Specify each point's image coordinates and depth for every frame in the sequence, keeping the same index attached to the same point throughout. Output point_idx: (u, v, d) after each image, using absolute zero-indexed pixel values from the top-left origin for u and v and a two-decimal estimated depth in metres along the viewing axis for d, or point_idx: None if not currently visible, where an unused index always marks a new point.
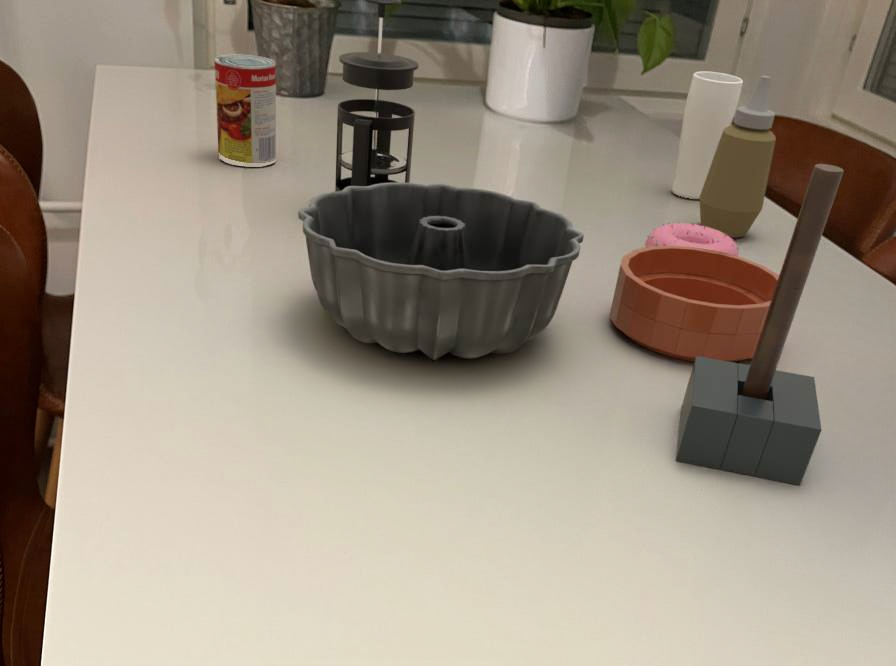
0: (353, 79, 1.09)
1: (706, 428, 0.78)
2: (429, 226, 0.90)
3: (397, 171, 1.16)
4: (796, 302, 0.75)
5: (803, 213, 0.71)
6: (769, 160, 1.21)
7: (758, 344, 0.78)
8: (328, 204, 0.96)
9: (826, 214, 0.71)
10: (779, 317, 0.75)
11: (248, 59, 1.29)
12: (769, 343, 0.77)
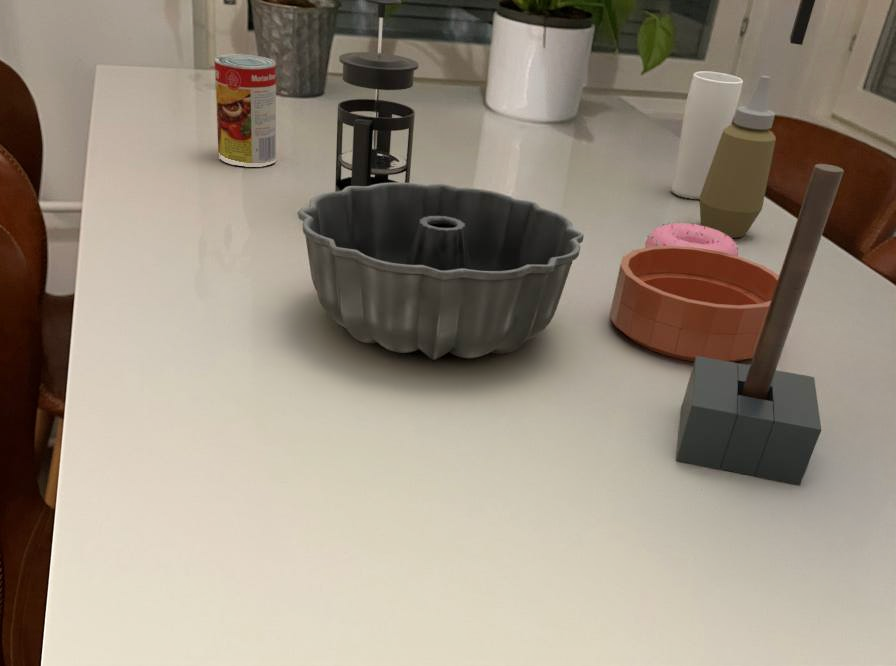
0: (353, 79, 1.09)
1: (706, 428, 0.78)
2: (429, 226, 0.90)
3: (397, 171, 1.16)
4: (796, 302, 0.75)
5: (803, 213, 0.71)
6: (769, 160, 1.21)
7: (758, 344, 0.78)
8: (328, 204, 0.96)
9: (826, 214, 0.71)
10: (779, 317, 0.75)
11: (248, 59, 1.29)
12: (769, 343, 0.77)
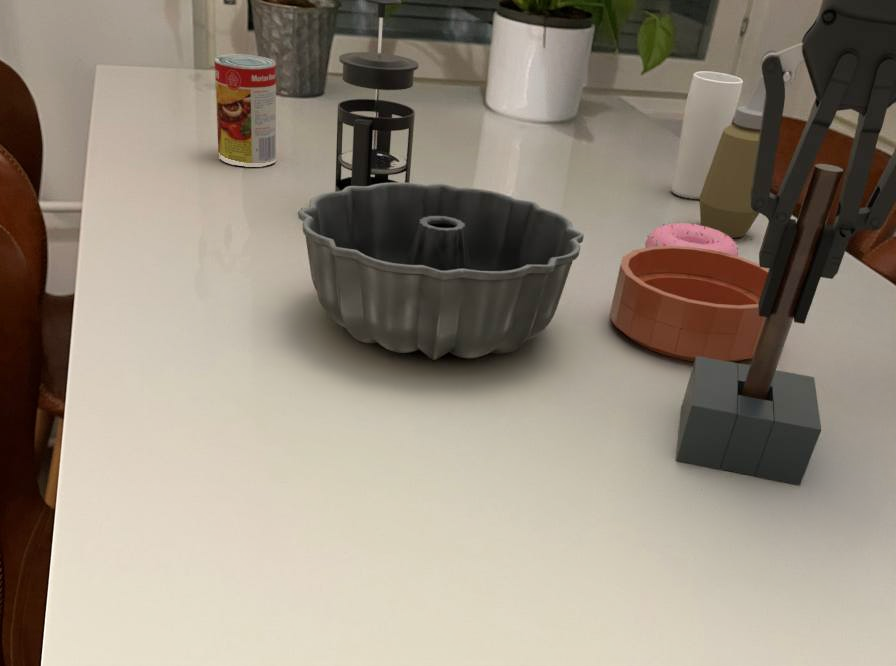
0: (353, 79, 1.09)
1: (706, 428, 0.78)
2: (429, 226, 0.90)
3: (397, 171, 1.16)
4: (796, 302, 0.75)
5: (803, 213, 0.71)
6: None
7: (758, 344, 0.78)
8: (328, 204, 0.96)
9: (826, 214, 0.71)
10: (779, 317, 0.75)
11: (248, 59, 1.29)
12: (769, 343, 0.77)
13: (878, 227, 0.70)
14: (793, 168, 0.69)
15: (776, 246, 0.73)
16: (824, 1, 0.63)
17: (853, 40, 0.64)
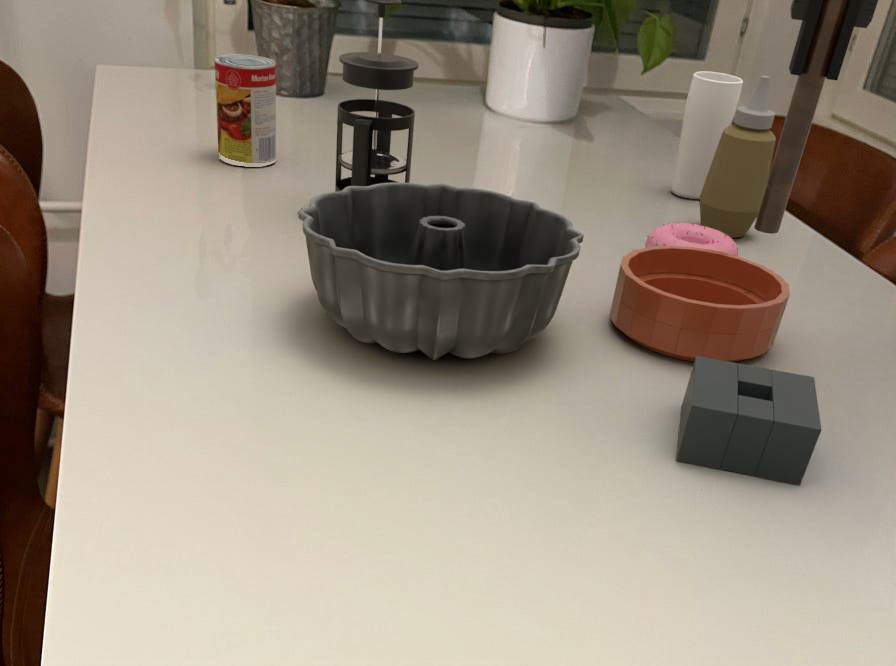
0: (353, 79, 1.09)
1: (706, 428, 0.78)
2: (429, 226, 0.90)
3: (397, 171, 1.16)
4: (829, 58, 0.73)
5: None
6: (769, 160, 1.21)
7: (789, 110, 0.76)
8: (328, 204, 0.96)
9: None
10: (811, 75, 0.74)
11: (248, 59, 1.29)
12: (801, 107, 0.75)
13: None
14: None
15: None
16: None
17: None
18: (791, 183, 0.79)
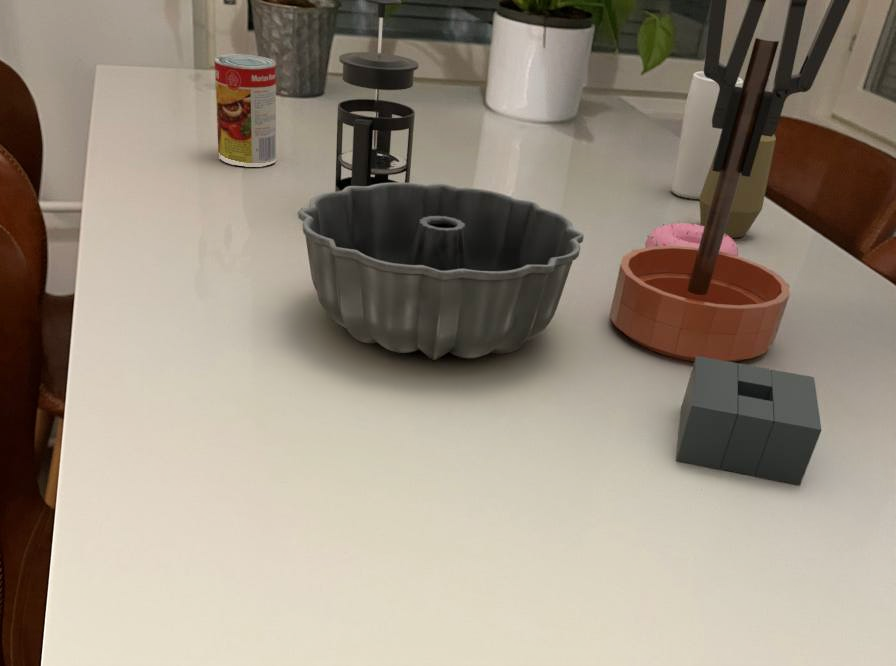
0: (353, 79, 1.09)
1: (706, 428, 0.78)
2: (429, 226, 0.90)
3: (397, 171, 1.16)
4: (743, 158, 0.90)
5: (747, 79, 0.86)
6: (769, 160, 1.21)
7: (713, 198, 0.93)
8: (328, 204, 0.96)
9: (765, 79, 0.86)
10: (729, 171, 0.91)
11: (248, 59, 1.29)
12: (721, 195, 0.92)
13: (807, 89, 0.85)
14: (737, 38, 0.84)
15: (725, 108, 0.88)
16: None
17: None
18: (716, 255, 0.96)
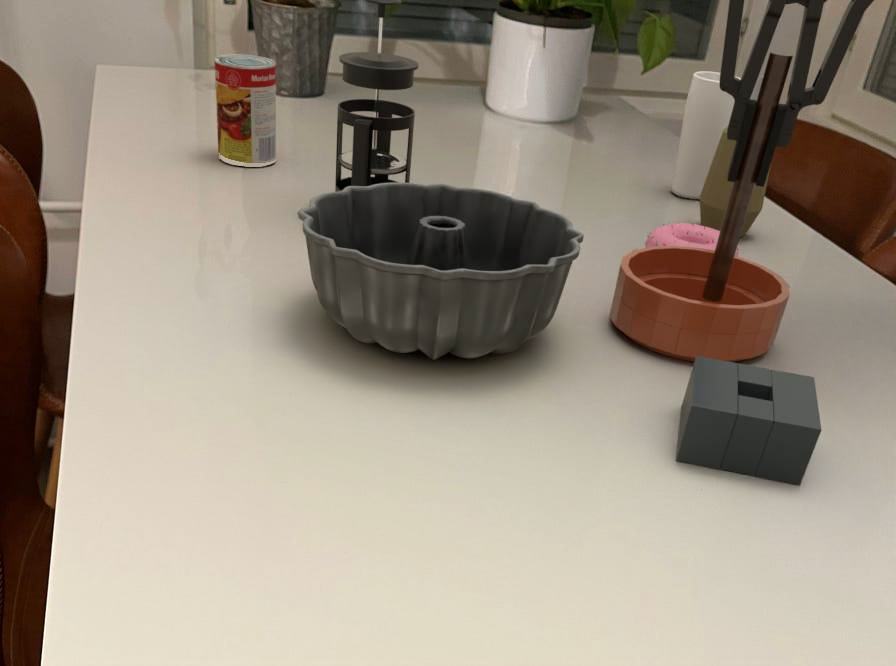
0: (353, 79, 1.09)
1: (706, 428, 0.78)
2: (429, 226, 0.90)
3: (397, 171, 1.16)
4: (757, 169, 0.92)
5: (761, 92, 0.89)
6: None
7: (727, 207, 0.95)
8: (328, 204, 0.96)
9: (779, 92, 0.88)
10: (743, 182, 0.93)
11: (248, 59, 1.29)
12: (736, 205, 0.94)
13: (820, 101, 0.87)
14: (752, 53, 0.87)
15: (740, 121, 0.90)
16: None
17: None
18: (730, 263, 0.98)
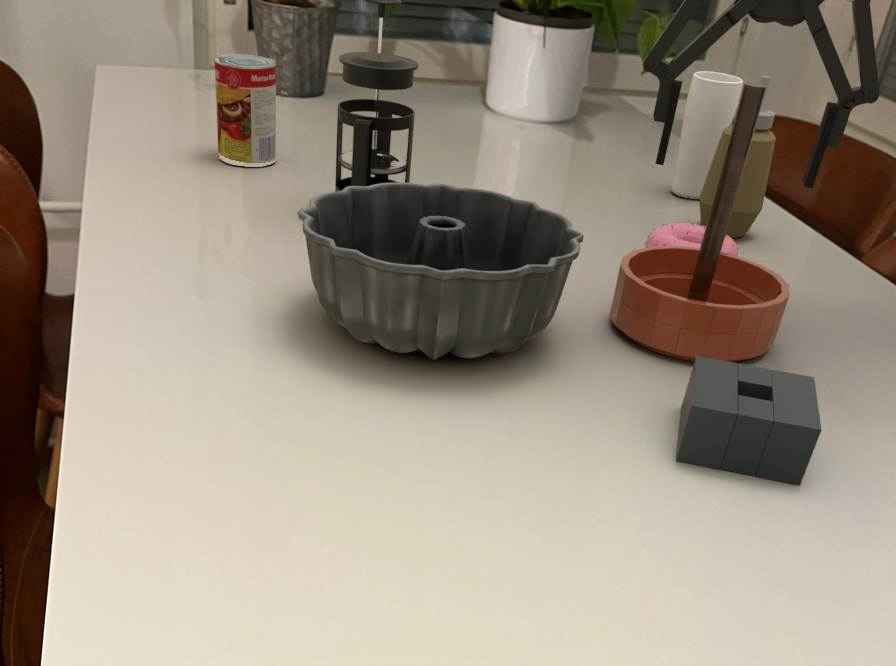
0: (353, 79, 1.09)
1: (706, 428, 0.78)
2: (429, 226, 0.90)
3: (397, 171, 1.16)
4: (733, 198, 0.92)
5: (736, 122, 0.89)
6: (769, 160, 1.21)
7: (704, 236, 0.95)
8: (328, 204, 0.96)
9: (754, 123, 0.88)
10: (719, 211, 0.93)
11: (248, 59, 1.29)
12: (712, 234, 0.94)
13: (877, 97, 0.84)
14: (695, 41, 0.85)
15: (666, 102, 0.89)
16: None
17: None
18: (707, 291, 0.98)
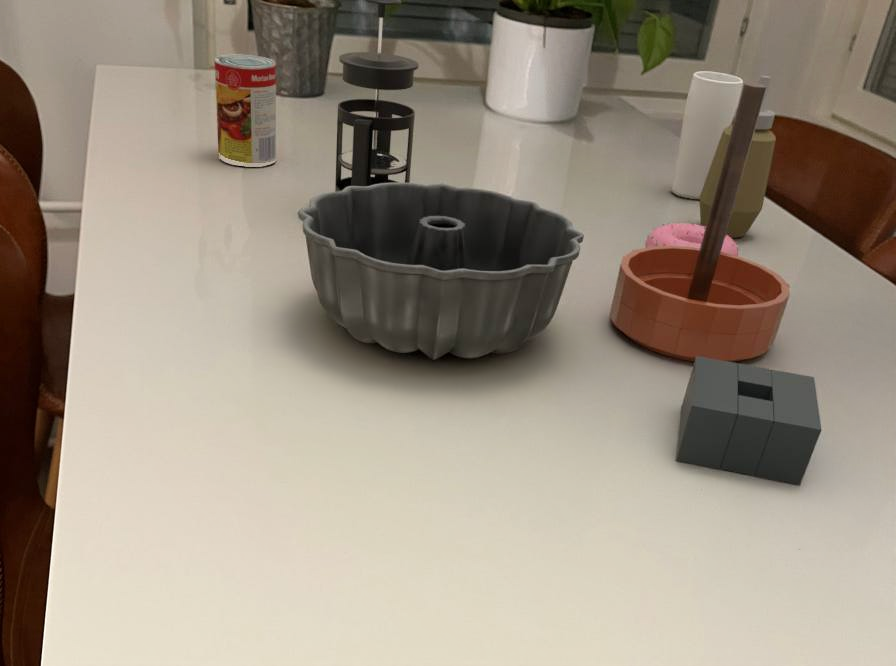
0: (353, 79, 1.09)
1: (706, 428, 0.78)
2: (429, 226, 0.90)
3: (397, 171, 1.16)
4: (733, 198, 0.92)
5: (736, 122, 0.89)
6: (769, 160, 1.21)
7: (704, 236, 0.95)
8: (328, 204, 0.96)
9: (754, 123, 0.88)
10: (719, 211, 0.93)
11: (248, 59, 1.29)
12: (712, 234, 0.94)
13: None
14: None
15: None
16: None
17: None
18: (707, 291, 0.98)
